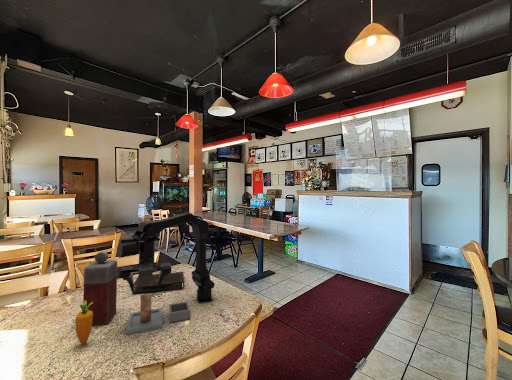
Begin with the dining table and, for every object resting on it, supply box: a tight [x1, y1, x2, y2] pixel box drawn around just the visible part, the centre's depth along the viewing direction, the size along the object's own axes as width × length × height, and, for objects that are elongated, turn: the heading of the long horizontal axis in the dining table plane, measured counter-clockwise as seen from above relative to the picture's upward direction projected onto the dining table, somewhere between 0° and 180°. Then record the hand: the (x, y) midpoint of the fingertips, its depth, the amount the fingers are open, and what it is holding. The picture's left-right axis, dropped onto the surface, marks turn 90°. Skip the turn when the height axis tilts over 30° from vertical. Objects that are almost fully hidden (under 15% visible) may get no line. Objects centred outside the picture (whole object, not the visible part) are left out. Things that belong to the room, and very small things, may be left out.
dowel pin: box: [139, 293, 152, 323], centre depth 94 cm, size 4×4×10 cm
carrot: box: [75, 301, 93, 346], centre depth 80 cm, size 5×5×15 cm
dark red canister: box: [82, 250, 118, 327], centre depth 97 cm, size 9×11×28 cm
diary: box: [132, 271, 185, 296], centre depth 130 cm, size 19×25×5 cm
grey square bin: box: [168, 301, 191, 324], centre depth 99 cm, size 8×8×4 cm
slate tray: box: [125, 307, 163, 336], centre depth 94 cm, size 12×12×2 cm
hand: (146, 291), depth 94 cm, fingers open, 9 cm apart
